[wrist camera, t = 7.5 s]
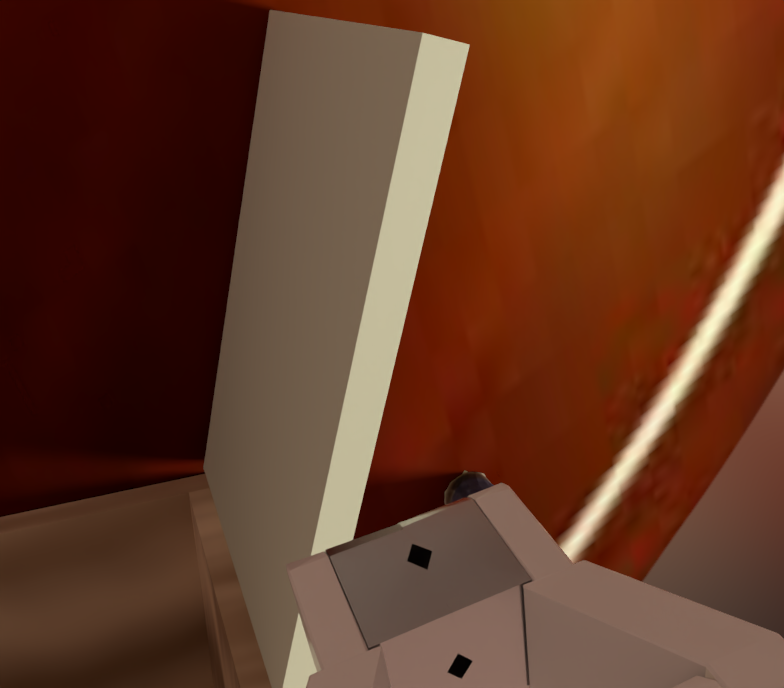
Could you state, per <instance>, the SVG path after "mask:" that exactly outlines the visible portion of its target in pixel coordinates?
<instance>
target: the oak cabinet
mask: <svg viewBox="0 0 784 688" xmlns="http://www.w3.org/2000/svg"><path fill="white" fill-rule="evenodd" d="M0 688H272V687H271V684H270V681H269V677H268V674H267V671H266V668H265V665H264V661H263V658H262V655H261V652H260V648H259V645H258V642H257V639H256V636H255V632H254V629H253V626H252V623H251V619H250V616H249V613H248V610H247V606H246V603H245V600H244V597H243V594H242V590H241V587H240V584H239V581H238V577H237V574H236V571H235V568H234V565H233V561H232V558H231V555H230V552H229V548H228V545H227V542H226V539H225V536H224V532H223V529H222V526H221V523H220V519H219V516H218V513H217V510H216V506H215V503H214V500H213V497H212V494H211V490H210V487H209V484H208V481H207V477H206V474H201V475H197V476H192V477H187V478H182V479H178V480H173V481H168V482H164V483H159V484H154V485H149V486H145V487H140V488H135V489H130V490H126V491H121V492H116V493H112V494H107V495H102V496H97V497H93V498H88V499H83V500H79V501H74V502H69V503H64V504H60V505H55V506H50V507H45V508H41V509H36V510H31V511H27V512H22V513H17V514H12V515H8V516H3V517H0Z"/></svg>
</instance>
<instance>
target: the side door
mask: <svg viewBox="0 0 784 688" xmlns="http://www.w3.org/2000/svg"><path fill="white" fill-rule="evenodd" d="M469 46H470V45H469V44H465V43H461V42H457V41H453V40H449V39H445V38H441V37H437V36H433V35H429V34H425V33H421V32H414V31H407V30H401V29H394V28H387V27H381V26H374V25H367V24H361V23H354V22H348V21H341V20H334V19H328V18H321V17H314V16H308V15H301V14H295V13H288V12H281V11H275V10H270V11H269V18H268V25H267V32H266V38H265V45H264V52H263V59H262V66H261V73H260V80H259V87H258V94H257V101H256V108H255V115H254V121H253V128H252V135H251V142H250V149H249V156H248V163H247V170H246V177H245V184H244V191H243V198H242V204H241V211H240V218H239V225H238V232H237V239H236V246H235V253H234V260H233V267H232V274H231V281H230V287H229V294H228V301H227V308H226V315H225V322H224V329H223V336H222V343H221V350H220V357H219V363H218V370H217V377H216V384H215V391H214V398H213V405H212V412H211V419H210V426H209V433H208V440H207V446H206V453H205V460H204V467H203V468H204V471H205V474H206V477H207V481H208V484H209V487H210V490H211V494H212V497H213V500H214V503H215V506H216V510H217V513H218V516H219V519H220V523H221V526H222V529H223V532H224V536H225V539H226V542H227V545H228V548H229V552H230V555H231V558H232V561H233V565H234V568H235V571H236V574H237V577H238V581H239V584H240V587H241V590H242V594H243V597H244V600H245V603H246V606H247V610H248V613H249V616H250V619H251V623H252V626H253V629H254V632H255V636H256V639H257V642H258V645H259V648H260V652H261V655H262V658H263V661H264V665H265V668H266V671H267V674H268V677H269V681H270V684H271V687H272V688H306V685H307V682H308V679H309V676H310V675H312V674H314V673H316V672H317V670H316V667H315V664H314V661H313V658H312V654H311V651H310V648H309V645H308V641H307V638H306V635H305V631H304V628H303V625H302V621H301V618H300V614H299V611H298V608H297V604H296V601H295V597H294V594H293V591H292V587H291V584H290V580H289V577H288V574H287V570H286V564H289V563H291V562H294V561H297V560H300V559H303V558H306V557H309V556H312V555H315V554H317V553H320V552H323V551H324V552H325V550H326V549H329V548H332V547H334V546H337V545H340V544H343V543H346V542H349V541H351V540H353V537H354V533H355V529H356V525H357V520H358V516H359V512H360V508H361V503H362V499H363V495H364V491H365V486H366V482H367V478H368V474H369V470H370V465H371V461H372V457H373V453H374V448H375V444H376V440H377V436H378V431H379V427H380V423H381V419H382V414H383V410H384V406H385V402H386V397H387V393H388V389H389V385H390V381H391V376H392V372H393V368H394V364H395V359H396V355H397V351H398V347H399V342H400V338H401V334H402V330H403V325H404V321H405V317H406V313H407V308H408V304H409V300H410V296H411V291H412V287H413V283H414V279H415V275H416V270H417V266H418V262H419V258H420V253H421V249H422V245H423V241H424V236H425V232H426V228H427V224H428V219H429V215H430V211H431V207H432V202H433V198H434V194H435V190H436V186H437V181H438V177H439V173H440V169H441V164H442V160H443V156H444V152H445V147H446V143H447V139H448V135H449V130H450V126H451V122H452V118H453V113H454V109H455V105H456V101H457V97H458V92H459V88H460V84H461V80H462V75H463V71H464V67H465V63H466V58H467V54H468V50H469Z"/></svg>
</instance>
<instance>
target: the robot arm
mask: <svg viewBox="0 0 784 688" xmlns="http://www.w3.org/2000/svg"><path fill="white" fill-rule="evenodd" d="M286 570H287V574H288V577H289V580H290V584H291V587H292V591H293V594H294V597H295V601H296V604H297V608H298V611H299V614H300V618H301V621H302V625H303V628H304V631H305V635H306V638H307V641H308V645H309V648H310V651H311V654H312V658H313V661H314V664H315V667H316V670H317V672H316V673H314V674H312V675H310V676H309V679H308V682H307V685H306V688H529V687H530V688H784V639H783V638H782V637H781V636H780V635H779V634H778V633H775V632H773V631H770V630H767V629H765V628H762V627H759V626H757V625H754V624H751V623H749V622H746V621H744V620H741V619H738V618H736V617H733V616H730V615H728V614H725V613H722V612H720V611H717V610H715V609H712V608H709V607H707V606H704V605H701V604H699V603H696V602H694V601H691V600H688V599H685V598H683V597H680V596H678V595H675V594H672V593H670V592H667V591H665V590H662V589H659V588H657V587H654V586H651V585H649V584H646V583H643V582H641V581H638V580H636V579H633V578H630V577H628V576H625V575H622V574H620V573H617V572H614V571H612V570H609V569H607V568H604V567H601V566H599V565H596V564H593V563H591V562H588V561H585V560H583V561H580V562H578V563H575V564H573V563H572V561H571V560H570V559H569V558H568V557H567V555H566V554H565V553H564V552H563V551H562V549H561V548H560V547H559V546H558V545H557V543H556V542H555V541H554V540H553V539H552V537H551V536H550V535H549V534H548V533H547V531H546V530H545V529H544V528H543V526H542V525H541V524H540V523H539V522H538V520H537V519H536V518H535V517H534V516H533V514H532V513H531V512H530V511H529V510H528V508H527V507H526V506H525V505H524V504H523V502H522V501H521V500H520V499H519V498H518V496H517V495H516V494H515V493H514V492H513V490H512V489H511V488H510V487H509V486H508V485H506V484H504V483H500V484H497V485H494V486H492V487H489V488H487V489H484V490H482V491H479V492H477V493H474V494H472V495H469V496H468V497H467V498H465V497H464V498H462V499H459V500H457V501H454V502H451V503H449V504H446V505H444V506H441V507H439V508H436V509H434V510H431V511H428V512H426V513H423V514H421V515H418V516H416V517H413V518H411V519H408V520H405V521H403V522H400V523H398V524H397V525H394V526H391V527H388V528H385V529H383V530H380V531H377V532H374V533H371V534H368V535H366V536H363V537H360V538H357V539H354V540H351V541H349V542H346V543H343V544H340V545H337V546H334V547H332V548H329V549H326V550H325V552H324V551H323V552H320V553H317V554H315V555H312V556H309V557H306V558H303V559H300V560H297V561H294V562H291V563H289V564H286Z"/></svg>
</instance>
